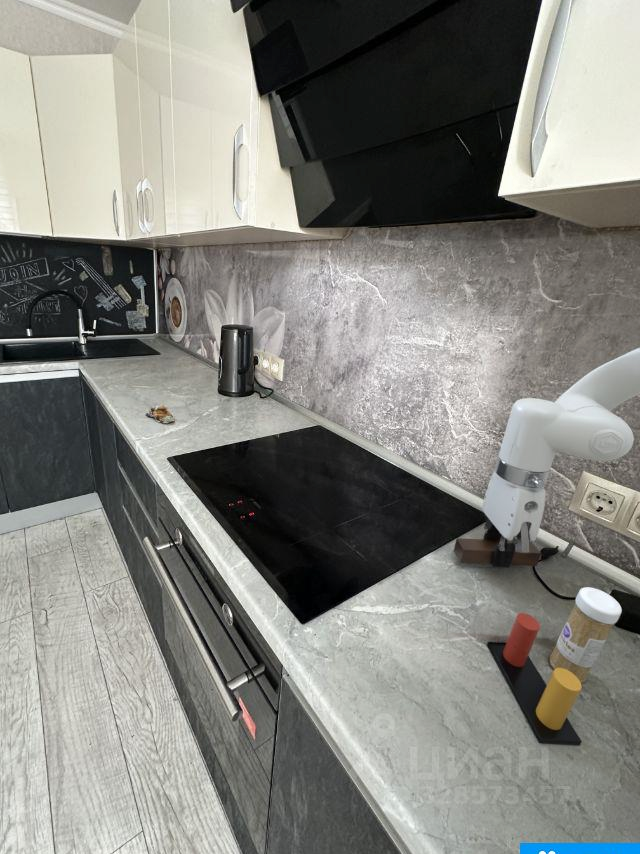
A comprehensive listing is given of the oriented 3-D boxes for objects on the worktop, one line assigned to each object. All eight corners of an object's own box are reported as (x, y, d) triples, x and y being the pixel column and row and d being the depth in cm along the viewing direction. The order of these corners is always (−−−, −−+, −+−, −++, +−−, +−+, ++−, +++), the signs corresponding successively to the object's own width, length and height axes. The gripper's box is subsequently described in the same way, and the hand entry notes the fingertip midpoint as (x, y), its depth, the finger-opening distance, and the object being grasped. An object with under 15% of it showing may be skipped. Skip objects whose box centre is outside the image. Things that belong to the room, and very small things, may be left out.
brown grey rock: (163, 425, 128) (163, 415, 126) (143, 415, 135) (143, 405, 134) (181, 420, 133) (181, 410, 132) (161, 410, 140) (161, 401, 139)
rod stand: (519, 646, 59) (535, 607, 56) (580, 745, 47) (604, 702, 44) (486, 645, 59) (501, 605, 56) (539, 743, 47) (560, 699, 44)
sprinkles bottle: (541, 653, 58) (571, 584, 53) (571, 655, 58) (604, 586, 53) (562, 684, 54) (596, 612, 49) (594, 686, 54) (632, 614, 49)
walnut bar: (526, 554, 73) (531, 541, 72) (536, 566, 70) (541, 553, 69) (453, 551, 73) (456, 538, 72) (460, 563, 70) (463, 549, 69)
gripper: (577, 499, 58) (541, 594, 64) (515, 450, 73) (492, 531, 80) (527, 497, 58) (496, 592, 64) (476, 449, 73) (455, 529, 79)
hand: (494, 557), depth 72 cm, fingers closed on walnut bar, 3 cm apart
